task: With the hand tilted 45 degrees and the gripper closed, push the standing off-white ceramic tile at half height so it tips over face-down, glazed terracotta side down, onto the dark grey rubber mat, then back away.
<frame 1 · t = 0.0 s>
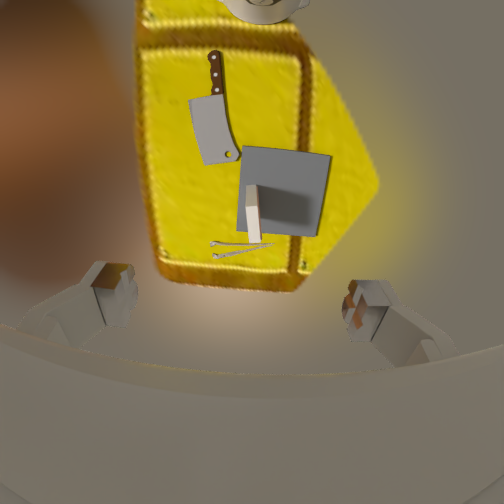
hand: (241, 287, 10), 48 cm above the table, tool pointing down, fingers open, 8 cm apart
kitchen cleaver: (210, 108, 49), on the table
tweezers: (248, 244, 65), on the table
mat: (281, 192, 58), on the table
tile: (252, 200, 58), point 1 cm above the table, touching mat
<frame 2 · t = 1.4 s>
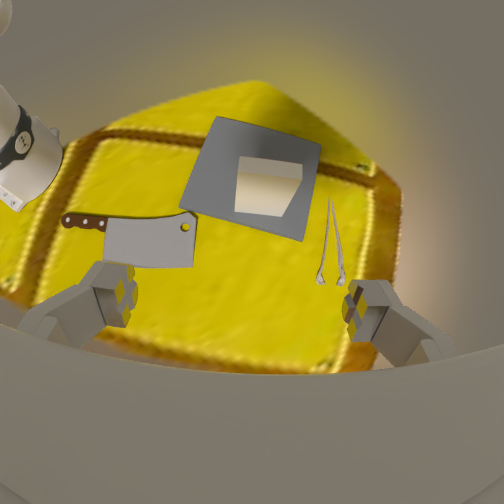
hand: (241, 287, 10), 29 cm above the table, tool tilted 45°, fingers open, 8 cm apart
kitchen cleaver: (121, 239, 39), on the table
tweezers: (329, 231, 43), on the table
mat: (255, 173, 43), on the table
tile: (258, 207, 40), point 1 cm above the table, touching mat
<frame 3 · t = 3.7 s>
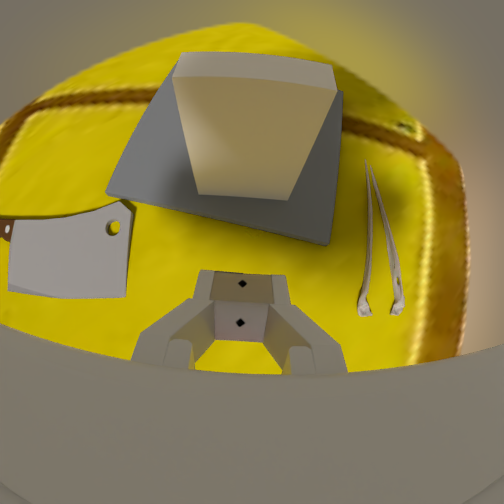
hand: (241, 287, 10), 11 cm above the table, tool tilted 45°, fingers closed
kitchen cleaver: (31, 252, 20), on the table
tweezers: (371, 219, 23), on the table
mat: (237, 130, 24), on the table
tile: (243, 185, 21), point 1 cm above the table, touching mat
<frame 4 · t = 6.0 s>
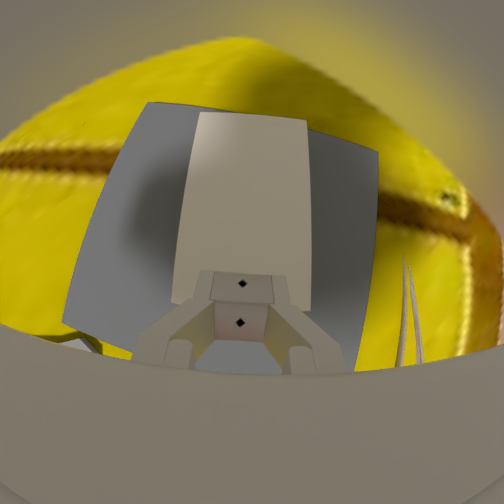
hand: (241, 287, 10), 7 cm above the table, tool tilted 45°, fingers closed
tweezers: (401, 337, 17), on the table
mat: (230, 229, 17), on the table
tile: (240, 308, 14), point 2 cm above the table, tilted 90°, touching mat
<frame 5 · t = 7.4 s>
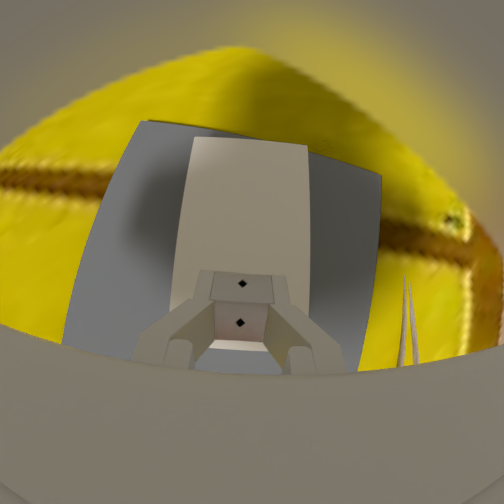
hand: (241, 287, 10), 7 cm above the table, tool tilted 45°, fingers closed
tweezers: (399, 360, 17), on the table
mat: (226, 262, 17), on the table
tile: (236, 347, 14), point 2 cm above the table, tilted 90°, touching mat
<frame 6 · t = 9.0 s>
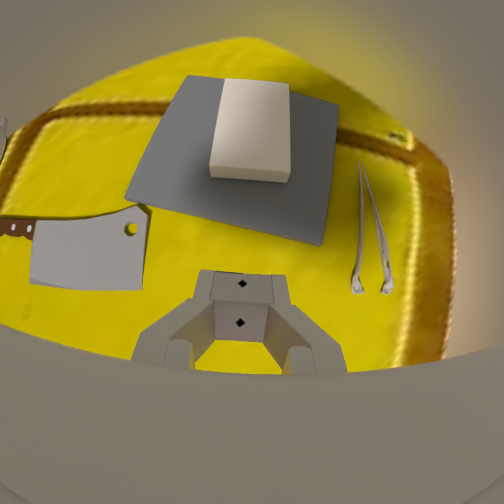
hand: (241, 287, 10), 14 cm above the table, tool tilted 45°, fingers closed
kitchen cleaver: (52, 250, 24), on the table
tweezers: (363, 211, 27), on the table
mat: (242, 143, 27), on the table
tile: (249, 174, 24), point 2 cm above the table, tilted 90°, touching mat
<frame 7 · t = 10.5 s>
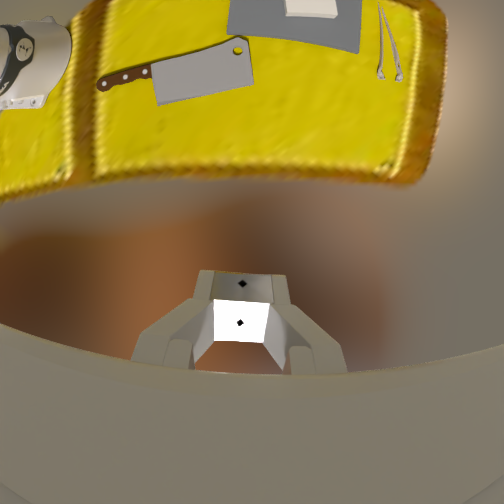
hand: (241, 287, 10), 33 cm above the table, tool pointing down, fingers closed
kitchen cleaver: (171, 78, 33), on the table
tweezers: (382, 32, 28), on the table
tile: (311, 14, 26), point 2 cm above the table, tilted 90°, touching mat
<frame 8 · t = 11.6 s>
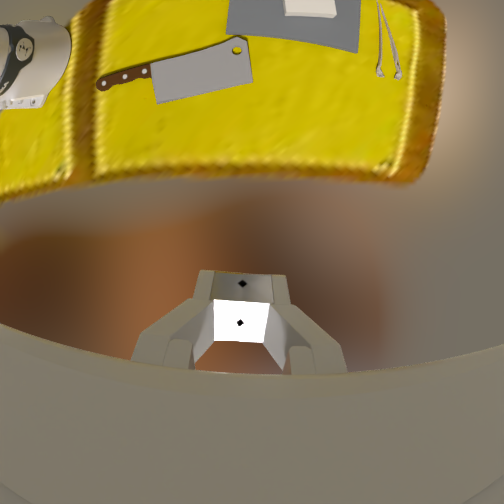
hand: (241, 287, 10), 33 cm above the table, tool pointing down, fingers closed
kitchen cleaver: (170, 77, 33), on the table
tweezers: (381, 30, 28), on the table
tile: (310, 14, 26), point 2 cm above the table, tilted 90°, touching mat
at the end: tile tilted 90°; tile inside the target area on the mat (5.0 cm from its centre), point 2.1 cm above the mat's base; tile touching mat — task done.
